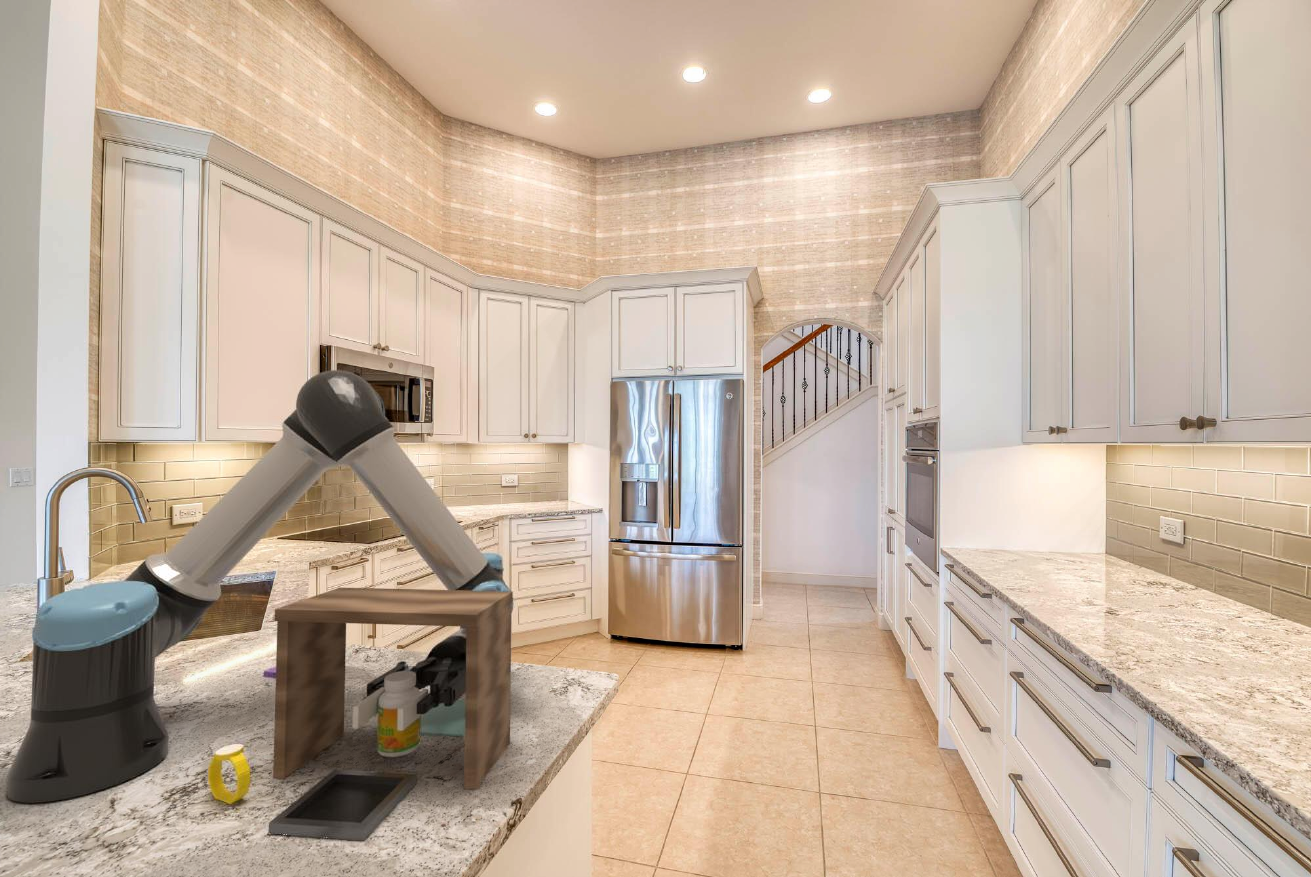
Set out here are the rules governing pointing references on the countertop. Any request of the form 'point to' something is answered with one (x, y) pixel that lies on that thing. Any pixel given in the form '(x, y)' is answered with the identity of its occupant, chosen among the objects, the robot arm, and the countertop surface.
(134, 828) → the countertop surface
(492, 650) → the tunnel
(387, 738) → the supplement bottle
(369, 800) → the tray
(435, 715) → the pad
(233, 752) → the watch
